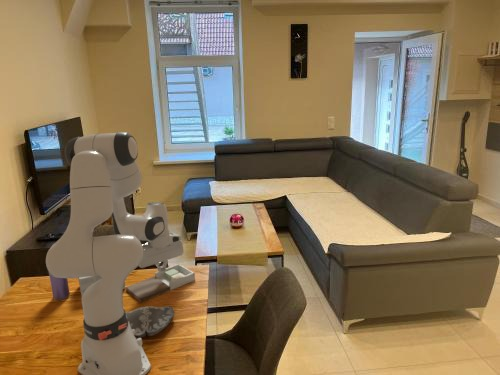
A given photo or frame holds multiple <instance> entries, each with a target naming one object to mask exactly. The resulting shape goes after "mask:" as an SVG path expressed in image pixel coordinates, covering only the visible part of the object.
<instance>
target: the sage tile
mask: <svg viewBox="0 0 500 375" xmlns="http://www.w3.org/2000/svg"><path fill="white" fill-rule="evenodd" d="M178 273H179V272H178V271H177V270H175V269H171V270H169V271H166V272H165V277H166V278H167V279H169V280H170V281H171V276H173V275H175V274H178Z"/></svg>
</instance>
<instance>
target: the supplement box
mask: <svg viewBox="0 0 500 375" xmlns="http://www.w3.org/2000/svg"><path fill="white" fill-rule="evenodd" d="M77 279H78V285H79V290H80V296H81V297H82V295H83V293H84V292H85V290H86V289H87V288H88V287H89V286H91V285H92V284H94V283H95V282H97V281H99V280H100V279H101V276H97V275H96V276H88V277H81V278H77ZM126 287H127V286H126V281H125V282H124V285H123V290H125V289H126Z"/></svg>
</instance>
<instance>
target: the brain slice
mask: <svg viewBox="0 0 500 375" xmlns="http://www.w3.org/2000/svg"><path fill="white" fill-rule="evenodd" d="M125 312H126V315H127V320H128V322H129V324H130V327H131V329H135V332H136V333H135V334H134V336H135V337H136V338H145V337H146V336H149V337H153V336H155V335H157V334H159V333H161V332H162V331H163V330H165V329H166V328H167V326H168V325H169V324H170V323H171V321H172V320H173V318H174V315H175V313H176V312H175V310H174V308H173V307H172V306H168V305H167V306H159V307H158V306H153V305H151V306H149V305H148V306H140V307H138V308H135V309H134V310H131V311H125Z"/></svg>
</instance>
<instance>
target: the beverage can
mask: <svg viewBox="0 0 500 375" xmlns="http://www.w3.org/2000/svg"><path fill="white" fill-rule="evenodd" d="M48 276H49V281H50V286H51V291H52V292H51V293H52V297H53V299H54V300H56V301H62V300H65V299H67V298H69V297H70V287H69V280H68V278H56V277H54V276H53V275H52V274H51V273H50V272H49V271H48Z"/></svg>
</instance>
